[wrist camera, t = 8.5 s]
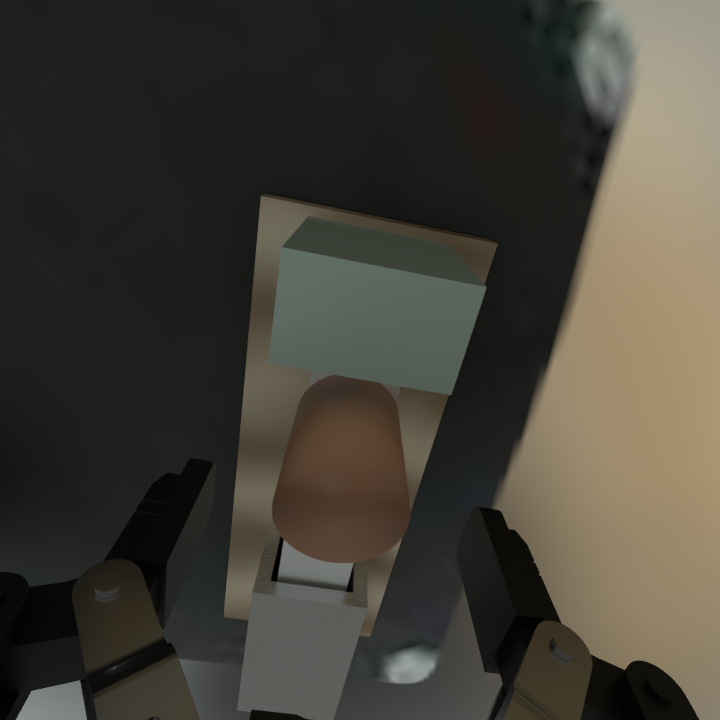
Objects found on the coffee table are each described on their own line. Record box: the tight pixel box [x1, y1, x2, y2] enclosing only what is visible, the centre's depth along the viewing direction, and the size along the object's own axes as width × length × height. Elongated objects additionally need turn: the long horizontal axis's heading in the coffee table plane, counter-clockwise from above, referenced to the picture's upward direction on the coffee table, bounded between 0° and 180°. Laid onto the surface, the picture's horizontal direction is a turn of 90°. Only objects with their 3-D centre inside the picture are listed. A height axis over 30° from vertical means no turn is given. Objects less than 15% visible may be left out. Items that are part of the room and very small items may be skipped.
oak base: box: [224, 194, 498, 637], centre depth 24 cm, size 27×10×1 cm, turn 169°
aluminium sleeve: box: [237, 518, 368, 720], centre depth 25 cm, size 10×5×5 cm, turn 169°
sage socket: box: [268, 216, 487, 395], centre depth 16 cm, size 4×6×6 cm, turn 79°
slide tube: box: [272, 371, 411, 592], centre depth 18 cm, size 17×4×8 cm, turn 169°
